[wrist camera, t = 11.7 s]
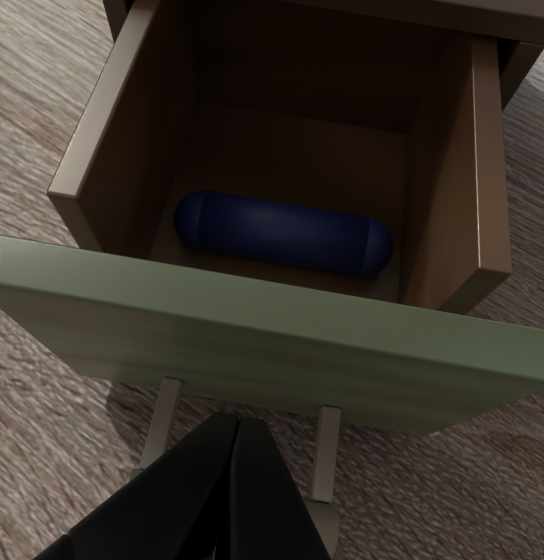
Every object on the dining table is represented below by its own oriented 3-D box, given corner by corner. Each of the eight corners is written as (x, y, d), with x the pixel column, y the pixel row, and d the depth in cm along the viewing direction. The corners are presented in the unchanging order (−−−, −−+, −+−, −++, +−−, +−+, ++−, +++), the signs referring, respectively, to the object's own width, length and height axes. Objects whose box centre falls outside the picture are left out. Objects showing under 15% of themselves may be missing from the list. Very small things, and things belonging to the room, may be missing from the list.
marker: (162, 226, 16) (178, 172, 17) (171, 255, 18) (185, 206, 19) (399, 266, 16) (402, 210, 17) (381, 291, 18) (385, 240, 19)
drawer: (423, 573, 15) (586, 629, 8) (33, 501, 15) (-147, 494, 8) (431, 143, 23) (517, -22, 16) (174, 100, 23) (144, -82, 16)
